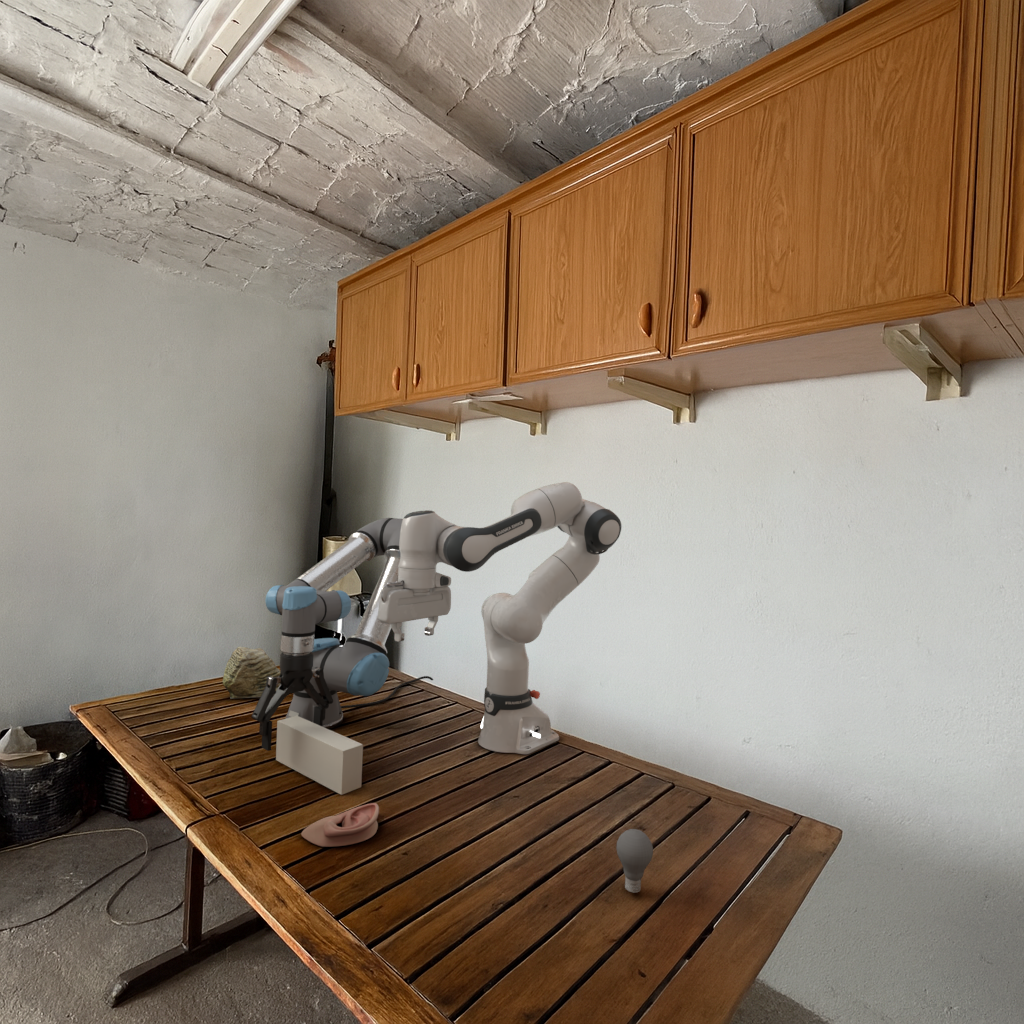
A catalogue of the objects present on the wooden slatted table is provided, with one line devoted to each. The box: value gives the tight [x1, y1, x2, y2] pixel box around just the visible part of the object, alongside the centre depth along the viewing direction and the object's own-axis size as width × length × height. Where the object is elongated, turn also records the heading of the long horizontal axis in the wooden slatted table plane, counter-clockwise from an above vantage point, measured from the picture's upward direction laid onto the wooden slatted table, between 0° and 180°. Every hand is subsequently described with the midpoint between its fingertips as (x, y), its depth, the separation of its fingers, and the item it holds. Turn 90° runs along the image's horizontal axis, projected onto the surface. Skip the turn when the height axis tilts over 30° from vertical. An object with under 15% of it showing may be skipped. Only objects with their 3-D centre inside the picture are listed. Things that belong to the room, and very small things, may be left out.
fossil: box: [222, 646, 285, 699], centre depth 198 cm, size 9×18×15 cm, turn 132°
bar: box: [275, 716, 364, 796], centre depth 145 cm, size 26×5×10 cm, turn 51°
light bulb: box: [615, 828, 654, 894], centre depth 106 cm, size 6×6×10 cm
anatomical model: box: [300, 802, 380, 848], centre depth 120 cm, size 13×4×12 cm
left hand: (292, 741), depth 151 cm, fingers open, 13 cm apart
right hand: (414, 638), depth 149 cm, fingers open, 8 cm apart
